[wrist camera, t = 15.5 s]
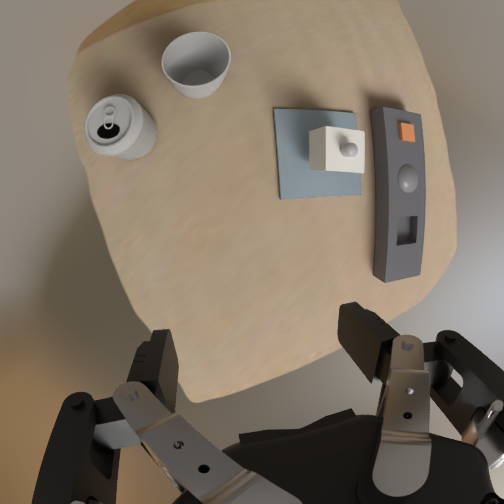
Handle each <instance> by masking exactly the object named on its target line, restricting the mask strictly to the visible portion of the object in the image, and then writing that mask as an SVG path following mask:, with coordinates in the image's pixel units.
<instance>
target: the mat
mask: <svg viewBox="0 0 504 504" xmlns="http://www.w3.org/2000/svg"><path fill="white" fill-rule="evenodd" d="M273 112H274V123H275V135H276V147H277V161H278V175H279V190H280V199H294V198H310V197H328V196H350V195H361V176H360V173H353V172H340V171H324V170H309V131H312V130H315V129H318V128H321V127H324V126H330V127H338V128H345V129H352V130H357V121H356V113H347V112H336V111H323V110H304V109H274V110H273Z"/></svg>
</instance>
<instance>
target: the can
mask: <svg viewBox="0 0 504 504" xmlns="http://www.w3.org/2000/svg"><path fill="white" fill-rule="evenodd" d="M84 132H85V137H86V140H87V143H88V145H89V146H90V147H91V148H92V150H94V151H95V152H97V153H99V154H101V155H106V156H112V157H117V158H122V159H127V160H134V159H139V158H141V157H143V156H145V155H146V154H147V153H148V152H149V151H150V150H151V149H152V148H153V146H154V144H155V143H156V139H157V136H158V132H157V125H156V123H155V121H154V119H153V118H152V117H151V116H150V115H149V114H148V113H147V112H146V111H145V110H144V109H143V107H142V106H141V105H140V104H139V103H138V102H137V101H136V100H135V99H134V98H132V97H130V96H128V95H124V94H115V95H111V96H108V97H105V98H103V99H101V100H100V101H98V102H97V103H96V104H95V105H94V106H93V107H92V108H91V109H90V111H89V113H88V114H87V117H86V120H85V123H84Z"/></svg>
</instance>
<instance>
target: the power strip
mask: <svg viewBox="0 0 504 504" xmlns="http://www.w3.org/2000/svg"><path fill="white" fill-rule="evenodd" d="M370 114H371V123H372V133H373V145H374V160H375V184H376V230H375V254H374V270H373V276H375V277H376V278H378V279H380V280H381V281H383V282H384V283H386V282H391V281H396V280H400V279H404V278H409V277H413V276H417V275H420V271H421V263H422V253H423V242H424V228H425V201H426V181H425V155H424V141H423V130H422V121H421V114H417V113H412V112H408V111H403V110H398V109H393V108H388V107H380V108H377V109H374V110H371V111H370Z"/></svg>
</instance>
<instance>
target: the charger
mask: <svg viewBox="0 0 504 504" xmlns="http://www.w3.org/2000/svg"><path fill="white" fill-rule="evenodd" d="M309 170H324V171H340V172H353V173H364V131H358V130H352V129H345V128H338V127H330V126H324V127H321V128H318V129H315V130H312V131H309Z"/></svg>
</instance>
